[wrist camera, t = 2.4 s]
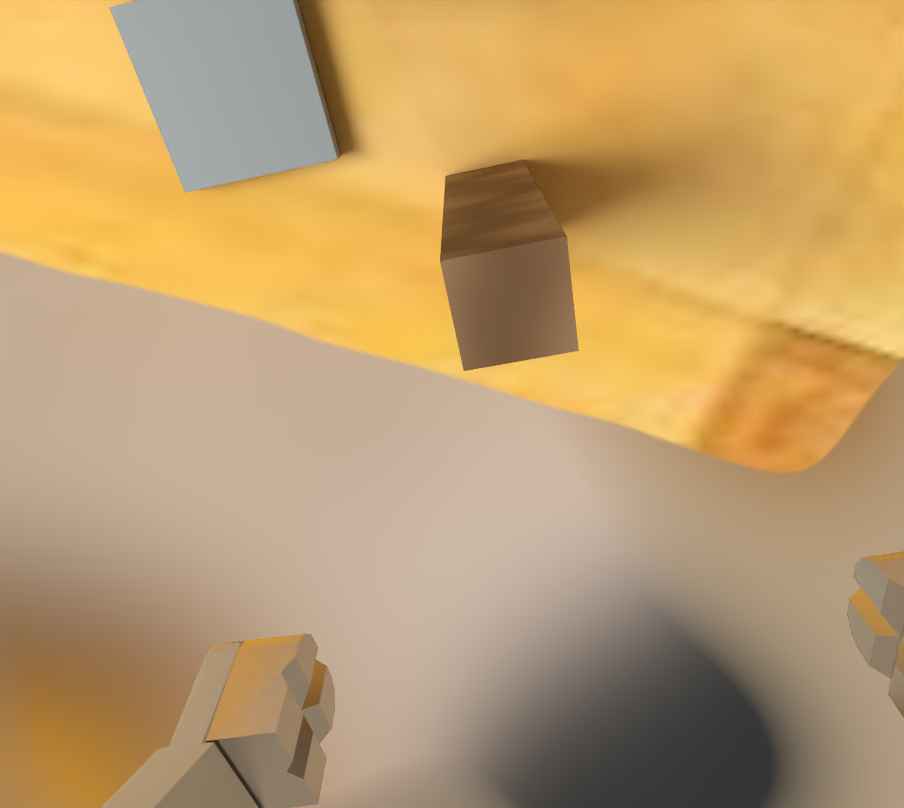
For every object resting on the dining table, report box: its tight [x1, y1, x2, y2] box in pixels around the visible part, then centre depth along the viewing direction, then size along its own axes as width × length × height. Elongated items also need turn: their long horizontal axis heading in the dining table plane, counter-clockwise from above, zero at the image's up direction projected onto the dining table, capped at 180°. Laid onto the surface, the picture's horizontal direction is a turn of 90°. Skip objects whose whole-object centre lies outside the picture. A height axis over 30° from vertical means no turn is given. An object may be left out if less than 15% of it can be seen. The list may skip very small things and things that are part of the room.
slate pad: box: [110, 0, 341, 192], centre depth 29 cm, size 8×8×1 cm
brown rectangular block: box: [440, 160, 579, 371], centre depth 26 cm, size 4×4×14 cm
